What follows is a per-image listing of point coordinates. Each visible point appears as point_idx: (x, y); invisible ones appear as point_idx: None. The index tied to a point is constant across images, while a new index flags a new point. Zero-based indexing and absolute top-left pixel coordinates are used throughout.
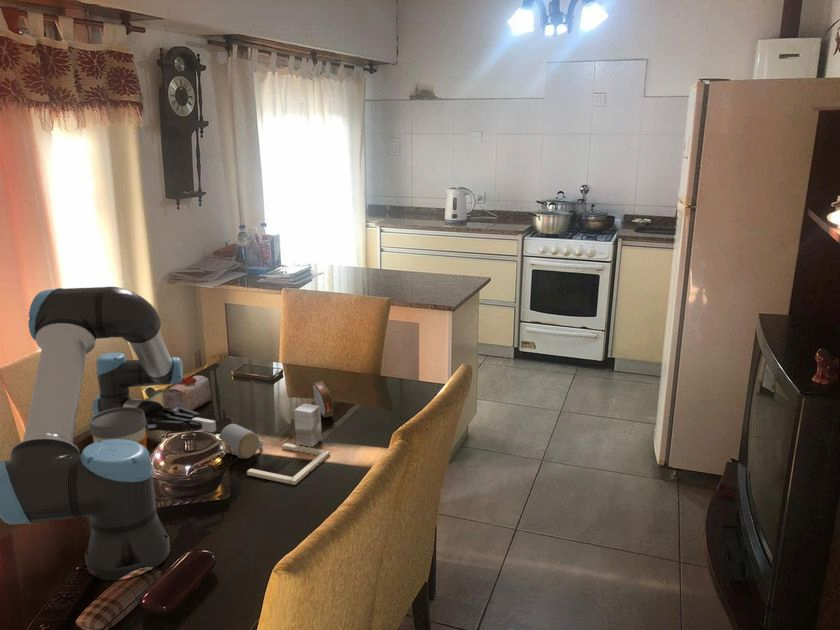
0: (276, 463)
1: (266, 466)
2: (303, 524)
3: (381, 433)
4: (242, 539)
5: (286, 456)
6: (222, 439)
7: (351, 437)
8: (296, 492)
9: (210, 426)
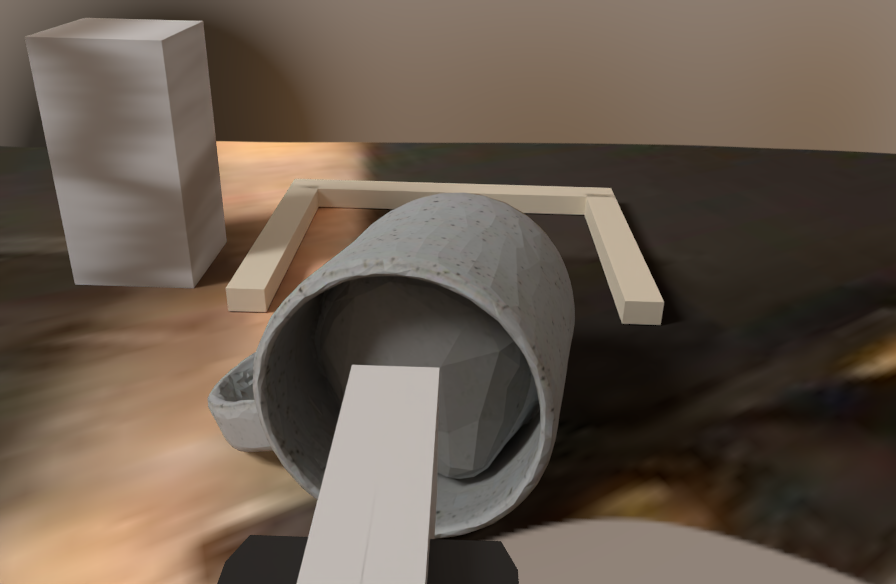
0: None
1: None
2: (795, 156)
3: (47, 152)
4: None
5: None
6: (555, 353)
7: None
8: (652, 195)
9: (437, 440)
